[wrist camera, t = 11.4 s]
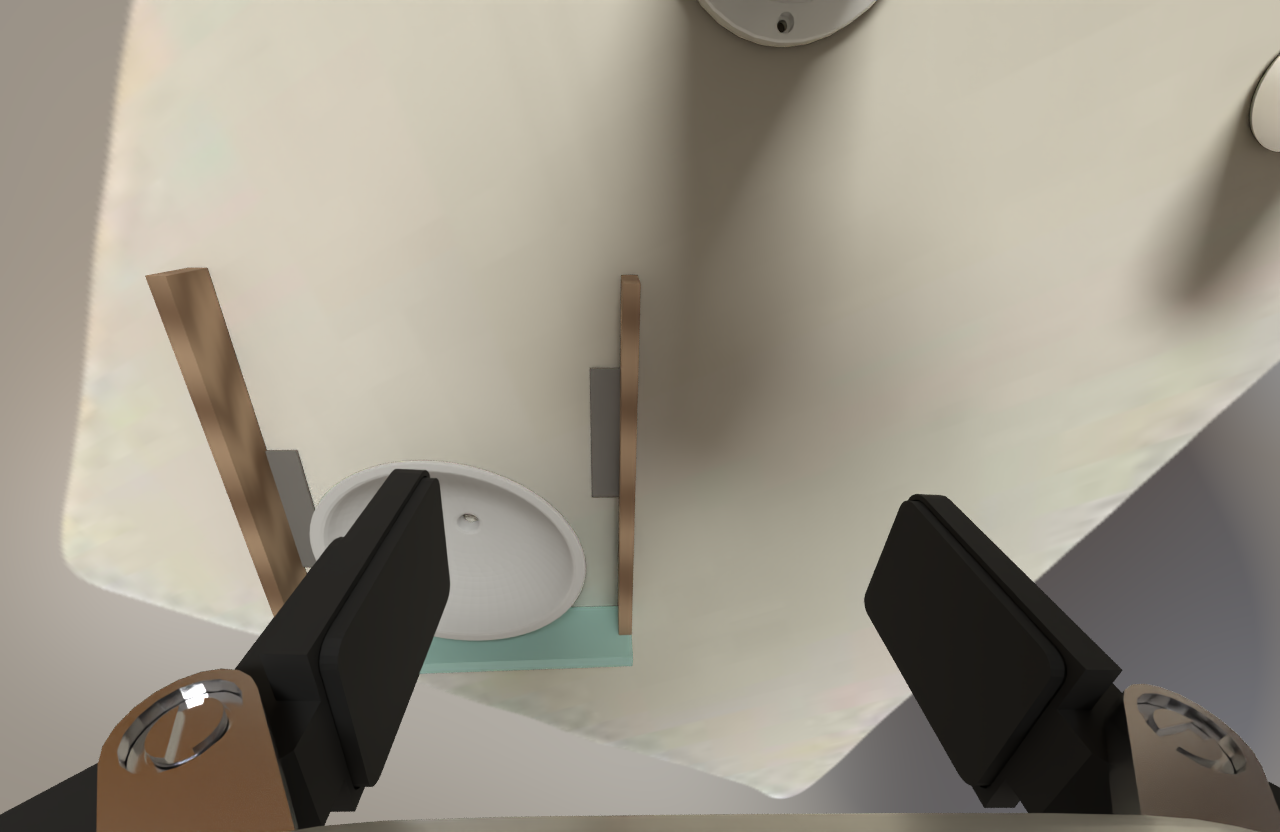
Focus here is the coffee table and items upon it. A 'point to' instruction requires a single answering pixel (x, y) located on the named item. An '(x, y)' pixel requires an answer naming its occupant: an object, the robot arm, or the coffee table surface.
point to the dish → (479, 548)
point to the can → (1267, 108)
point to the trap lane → (283, 508)
